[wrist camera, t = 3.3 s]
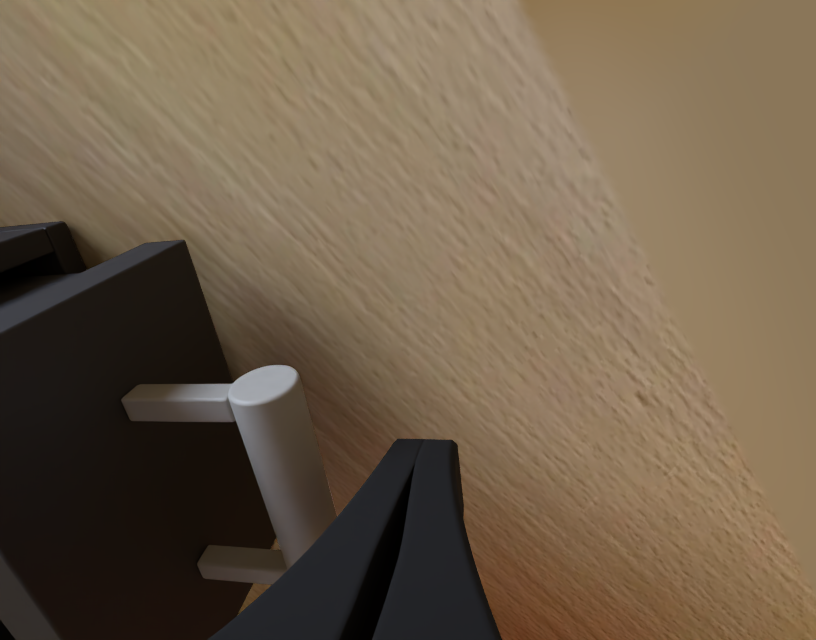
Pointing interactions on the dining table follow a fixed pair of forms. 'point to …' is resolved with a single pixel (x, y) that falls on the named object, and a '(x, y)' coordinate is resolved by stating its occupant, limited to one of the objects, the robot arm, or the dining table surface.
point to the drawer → (142, 458)
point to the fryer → (38, 251)
